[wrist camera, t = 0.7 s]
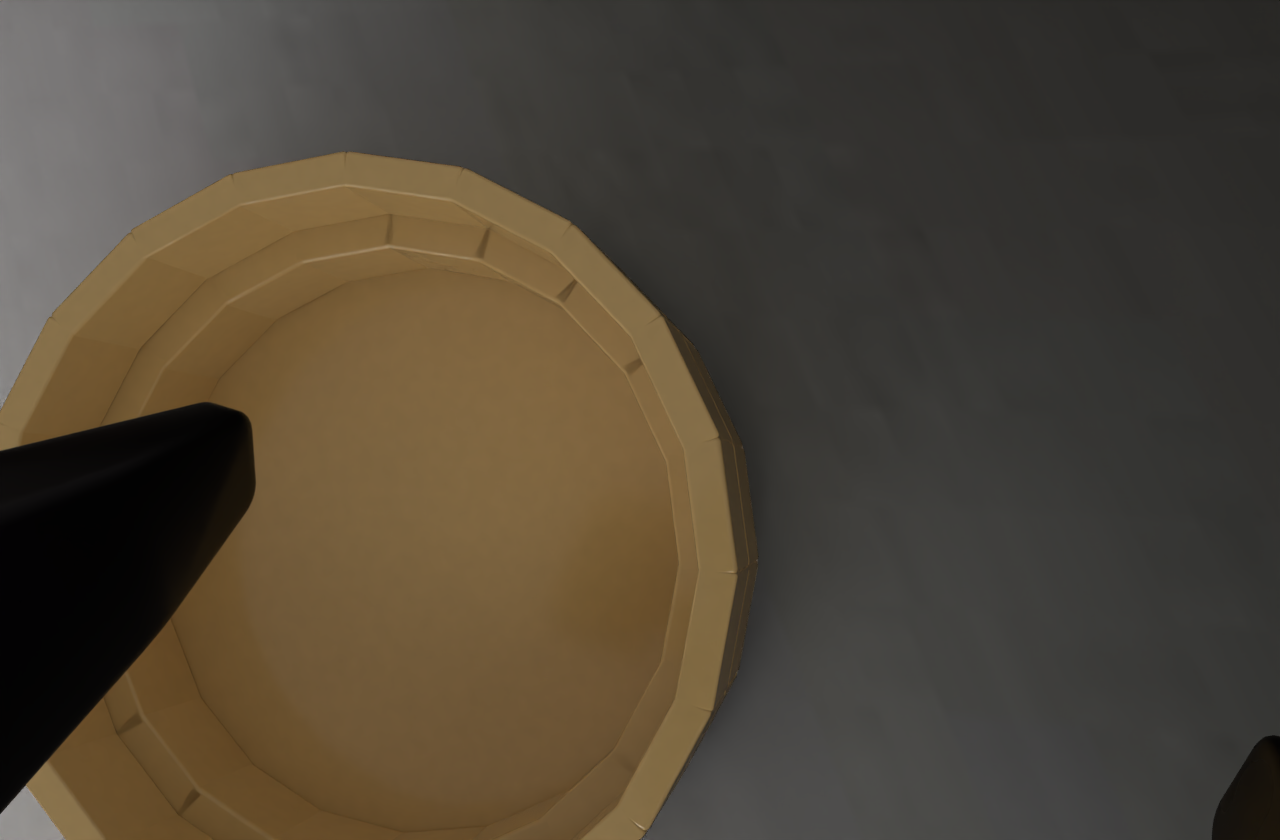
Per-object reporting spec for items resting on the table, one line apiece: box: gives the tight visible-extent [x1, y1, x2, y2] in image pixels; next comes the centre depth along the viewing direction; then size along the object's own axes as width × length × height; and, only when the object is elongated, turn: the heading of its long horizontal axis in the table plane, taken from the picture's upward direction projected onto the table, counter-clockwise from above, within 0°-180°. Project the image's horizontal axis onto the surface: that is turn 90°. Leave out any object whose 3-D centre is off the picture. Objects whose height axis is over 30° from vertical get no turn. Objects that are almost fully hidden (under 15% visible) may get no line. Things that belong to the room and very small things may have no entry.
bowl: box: [0, 151, 759, 840], centre depth 23 cm, size 15×15×5 cm
